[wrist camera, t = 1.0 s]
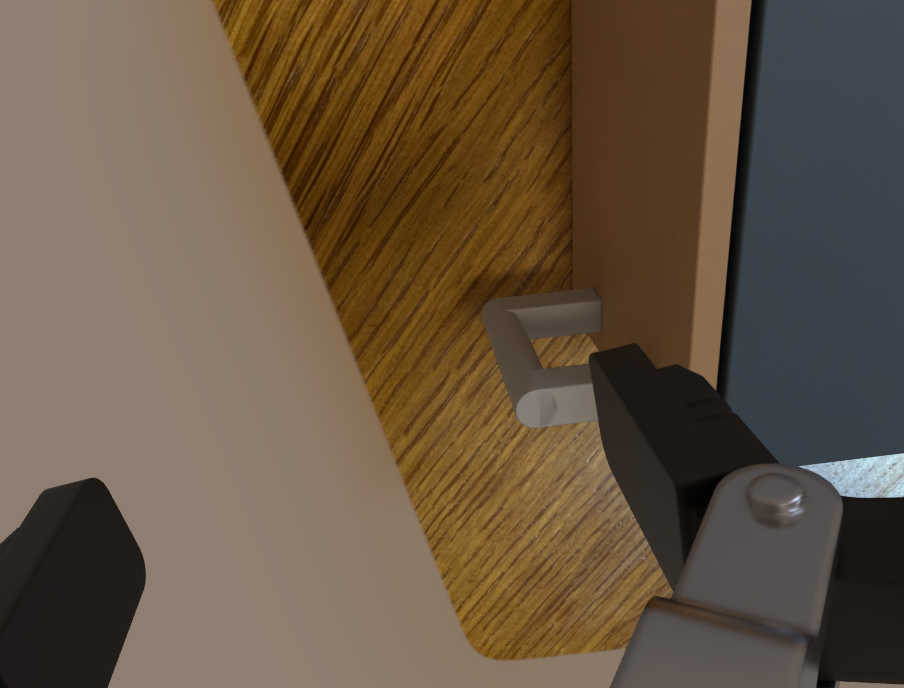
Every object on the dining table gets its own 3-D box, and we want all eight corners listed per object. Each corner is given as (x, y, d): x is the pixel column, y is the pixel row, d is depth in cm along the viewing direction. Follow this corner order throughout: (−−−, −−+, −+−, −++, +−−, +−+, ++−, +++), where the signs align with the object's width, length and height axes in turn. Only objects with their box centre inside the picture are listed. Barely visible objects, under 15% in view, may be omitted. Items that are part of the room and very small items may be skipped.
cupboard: (594, 306, 40) (718, 477, 26) (598, -68, 32) (776, -118, 18) (810, 283, 40) (1046, 436, 26) (864, -89, 33) (1233, -152, 19)
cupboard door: (473, 321, 39) (530, 497, 25) (448, -57, 32) (509, -98, 18) (590, 308, 40) (709, 475, 26) (593, -68, 32) (763, -116, 18)
